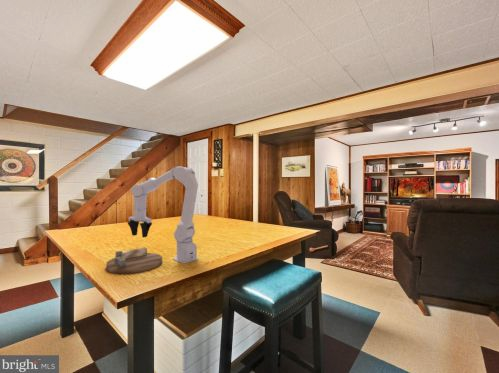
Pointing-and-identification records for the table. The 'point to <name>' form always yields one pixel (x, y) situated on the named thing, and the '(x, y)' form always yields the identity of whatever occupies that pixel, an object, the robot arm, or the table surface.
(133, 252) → the folding leg
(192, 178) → the robot arm
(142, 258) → the stool seat
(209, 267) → the table surface
